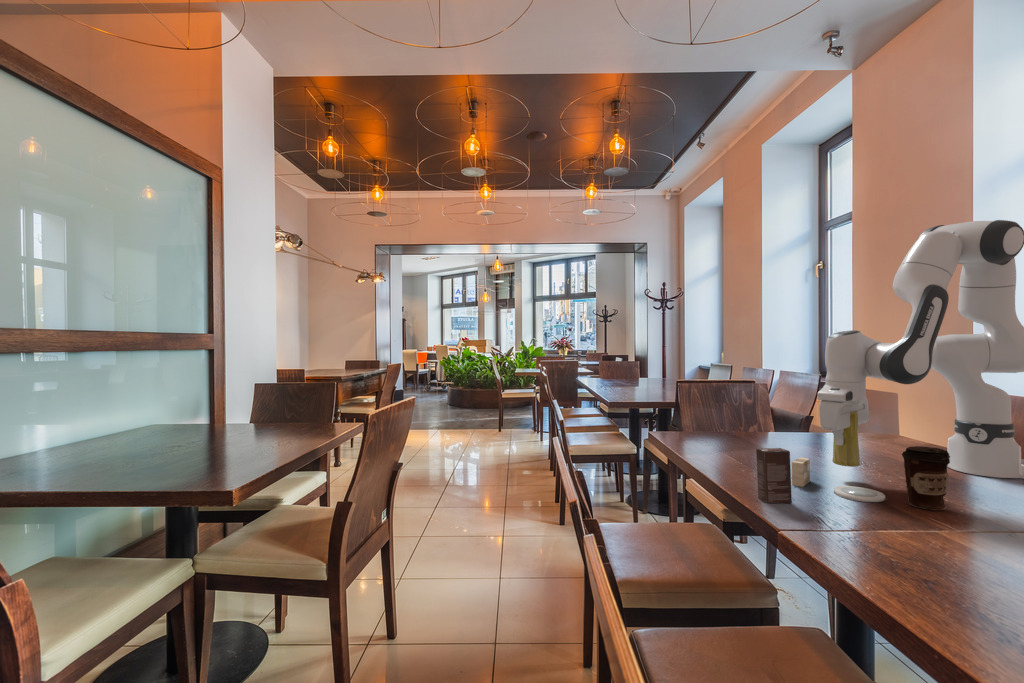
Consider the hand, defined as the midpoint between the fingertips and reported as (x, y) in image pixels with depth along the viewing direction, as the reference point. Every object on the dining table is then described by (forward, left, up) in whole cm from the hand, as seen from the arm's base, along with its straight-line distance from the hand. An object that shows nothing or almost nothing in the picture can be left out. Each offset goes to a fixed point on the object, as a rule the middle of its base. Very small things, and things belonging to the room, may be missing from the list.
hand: (846, 442), depth 126 cm
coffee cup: (+9, +19, -10) cm, 23 cm away
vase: (0, 0, -6) cm, 6 cm away
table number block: (+12, -6, -10) cm, 17 cm away
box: (+32, -3, -10) cm, 34 cm away
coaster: (+12, +7, -10) cm, 17 cm away
